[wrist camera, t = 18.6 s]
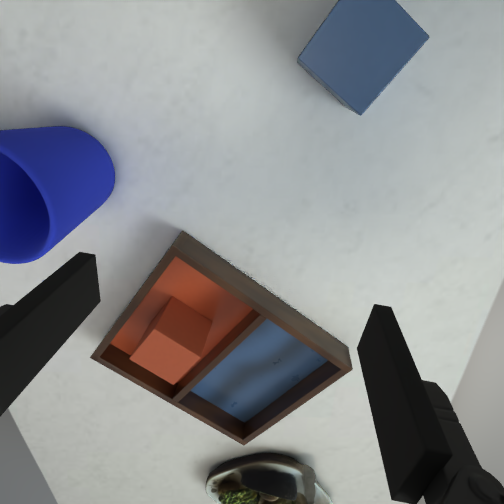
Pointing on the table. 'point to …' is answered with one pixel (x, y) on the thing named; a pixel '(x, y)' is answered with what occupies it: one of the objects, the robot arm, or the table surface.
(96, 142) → the mug
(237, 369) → the tray
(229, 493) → the salad plate
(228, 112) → the table surface
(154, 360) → the terracotta block
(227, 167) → the table surface
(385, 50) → the blue block
